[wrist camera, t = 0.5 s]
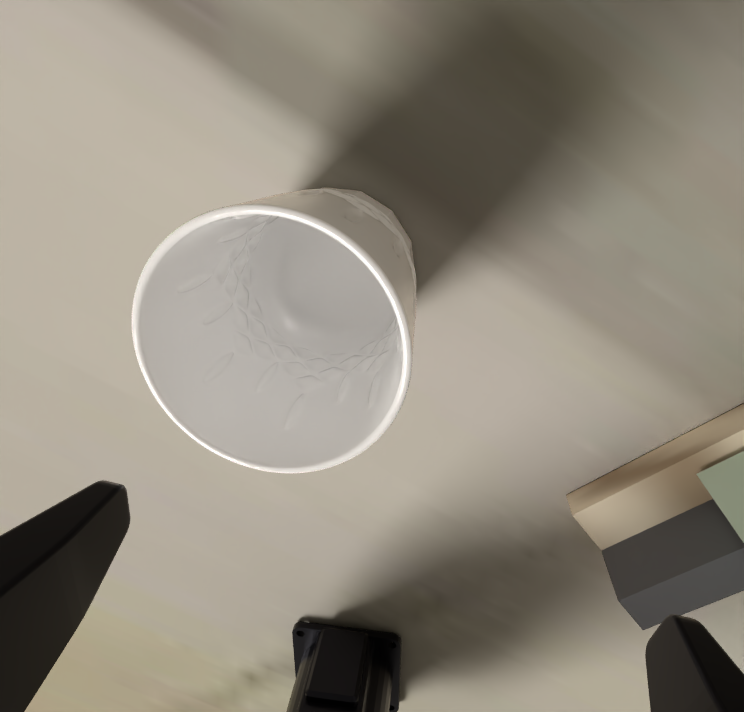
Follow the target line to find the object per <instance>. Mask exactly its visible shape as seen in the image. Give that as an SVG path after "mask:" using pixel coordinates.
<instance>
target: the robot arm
mask: <svg viewBox="0 0 744 712" xmlns="http://www.w3.org/2000/svg"><path fill="white" fill-rule="evenodd" d="M129 524H130V512H129V504H128V497H127V490H126V488H125V487H124V485H121V484H118V483H113V482H109V481H98V482H96V483H94V484H92V485H90V486H88V487H86V488H85V489H83V490H81V491H79V492H78V493H76V494H74V495H72V496H70V497H69V498H67V499H65V500H63V501H61V502H60V503H58V504H56V505H54V506H52V507H51V508H49V509H47V510H45V511H44V512H42V513H40V514H38V515H36V516H35V517H33V518H31V519H29V520H27V521H26V522H24V523H22V524H20V525H19V526H17V527H15V528H13V529H11V530H10V531H8V532H6V533H4V534H2V535H1V536H0V712H24V711H25V710H26V708H27V706H28V705H29V703H30V702H31V700H32V699H33V697H34V695H35V694H36V692H37V691H38V689H39V688H40V686H41V684H42V683H43V681H44V680H45V678H46V677H47V675H48V673H49V672H50V670H51V669H52V667H53V665H54V664H55V662H56V661H57V659H58V658H59V656H60V654H61V653H62V651H63V650H64V648H65V647H66V645H67V643H68V642H69V640H70V639H71V637H72V636H73V634H74V632H75V631H76V629H77V627H78V626H79V624H80V623H81V621H82V619H83V618H84V616H85V614H86V612H87V610H88V608H89V606H90V604H91V603H92V601H93V599H94V597H95V595H96V593H97V591H98V589H99V587H100V585H101V583H102V581H103V579H104V577H105V575H106V573H107V571H108V569H109V567H110V565H111V563H112V561H113V559H114V557H115V555H116V553H117V551H118V549H119V547H120V545H121V543H122V541H123V539H124V537H125V535H126V533H127V531H128V528H129ZM292 634H293V647H294V660H295V673H296V680H295V684H294V687H293V691H292V694H291V698H290V701H289V705H288V708H287V712H397V711H398V709H399V692H400V660H401V638H400V637H399V636H398V635H397V634H394V633H387V632H379V631H371V630H362V629H354V628H346V627H338V626H330V625H322V624H314V623H306V622H298V623H296V624H295V625H294V628H293V632H292ZM645 656H646V668H647V678H648V688H649V698H650V708H651V712H744V674H743V673H742V671H741V670H740V669H739V668H738V667H737V665H736V664H735V663H734V662H733V661H732V659H731V658H730V657H729V656H728V655H727V653H726V652H725V651H724V650H723V649H722V647H721V646H720V645H719V644H718V643H717V641H716V640H715V639H714V638H713V637H712V635H711V634H710V633H709V632H708V631H707V629H706V628H705V627H704V626H703V625H702V624H701V623H700V622H699V621H697V620H695V619H692V618H688V617H684V616H679V615H675V614H671V615H668V616H667V617H666V618H665V619H664V620H663V622H662V623H661V625H660V626H659V627H658V629H657V630H656V631H655V633H654V634H653V635H652V637H651V638H650V640H649V641H648V643H647V646H646V654H645Z"/></svg>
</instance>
